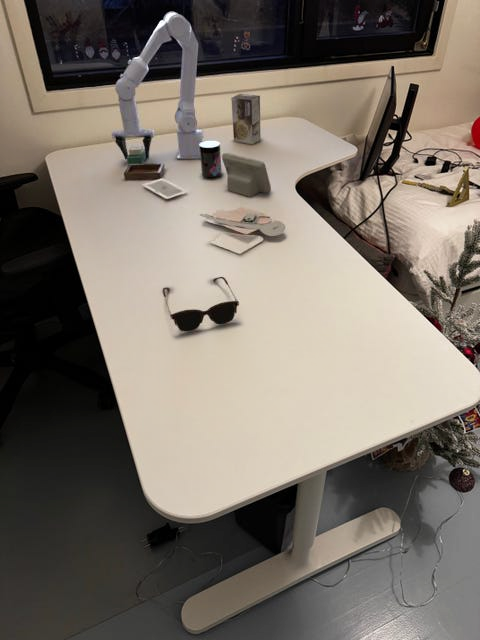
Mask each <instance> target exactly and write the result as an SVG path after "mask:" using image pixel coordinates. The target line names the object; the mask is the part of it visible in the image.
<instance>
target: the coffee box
mask: <svg viewBox="0 0 480 640" xmlns="http://www.w3.org/2000/svg"><path fill="white" fill-rule="evenodd" d="M230 98H231V113H232V115H231V116H232V133H233V135H232V136H233V142H236V143H243V144H251V145H254V144H256V143H257V142H259V141H261V140H262V139H261V95H256V94H248V93H238V94H236V95H234V96H233V97H232V96H231V97H230Z"/></svg>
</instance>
